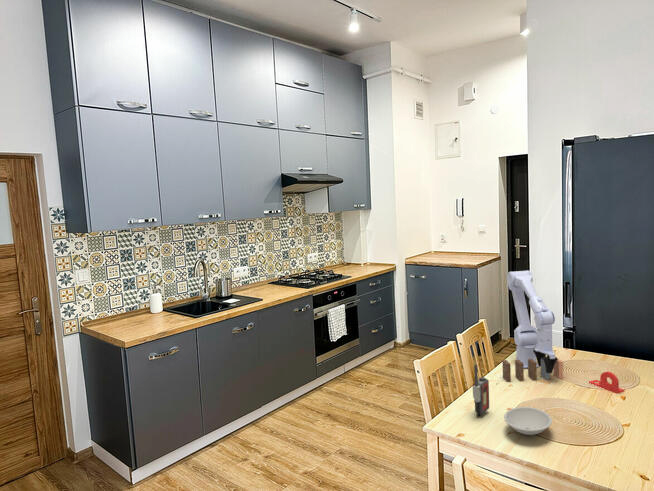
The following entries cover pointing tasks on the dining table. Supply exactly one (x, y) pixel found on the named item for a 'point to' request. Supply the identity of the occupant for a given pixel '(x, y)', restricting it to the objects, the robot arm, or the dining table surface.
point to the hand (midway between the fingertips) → (545, 369)
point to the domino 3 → (558, 369)
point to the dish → (527, 420)
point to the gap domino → (544, 371)
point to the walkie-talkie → (480, 393)
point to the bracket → (604, 383)
